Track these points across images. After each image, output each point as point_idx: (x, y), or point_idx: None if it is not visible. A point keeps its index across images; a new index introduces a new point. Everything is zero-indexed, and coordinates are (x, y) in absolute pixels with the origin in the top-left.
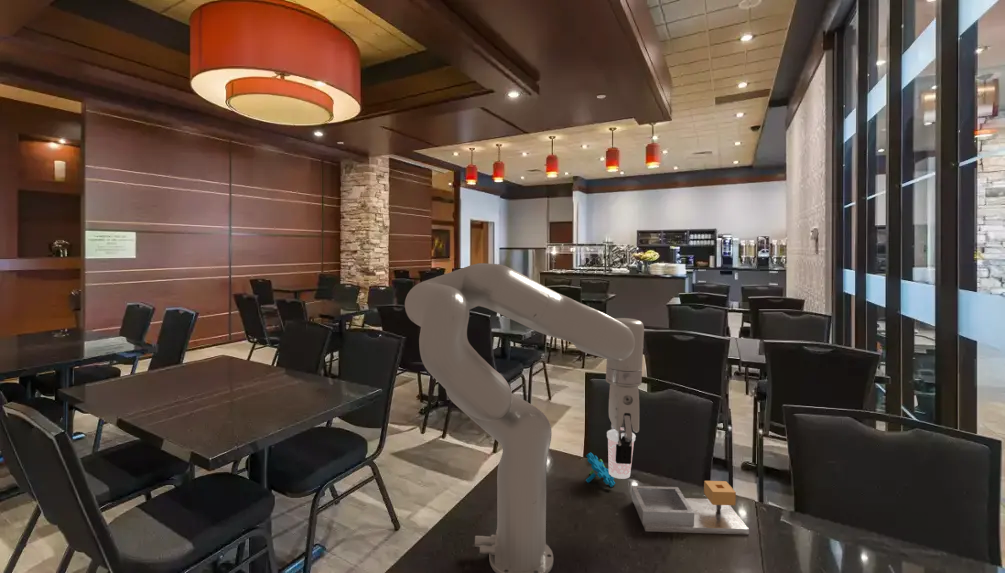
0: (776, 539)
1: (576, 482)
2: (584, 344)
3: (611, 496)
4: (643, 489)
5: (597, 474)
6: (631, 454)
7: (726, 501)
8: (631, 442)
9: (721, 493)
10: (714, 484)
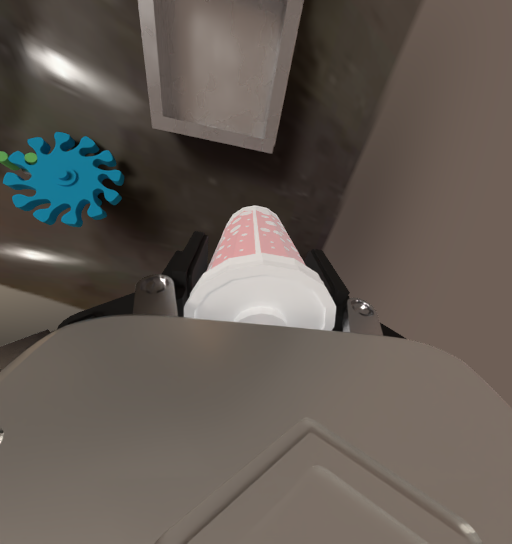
0: None
1: (107, 222)
2: None
3: (148, 168)
4: (162, 92)
5: (115, 204)
6: (332, 267)
7: None
8: (376, 318)
9: None
10: None
